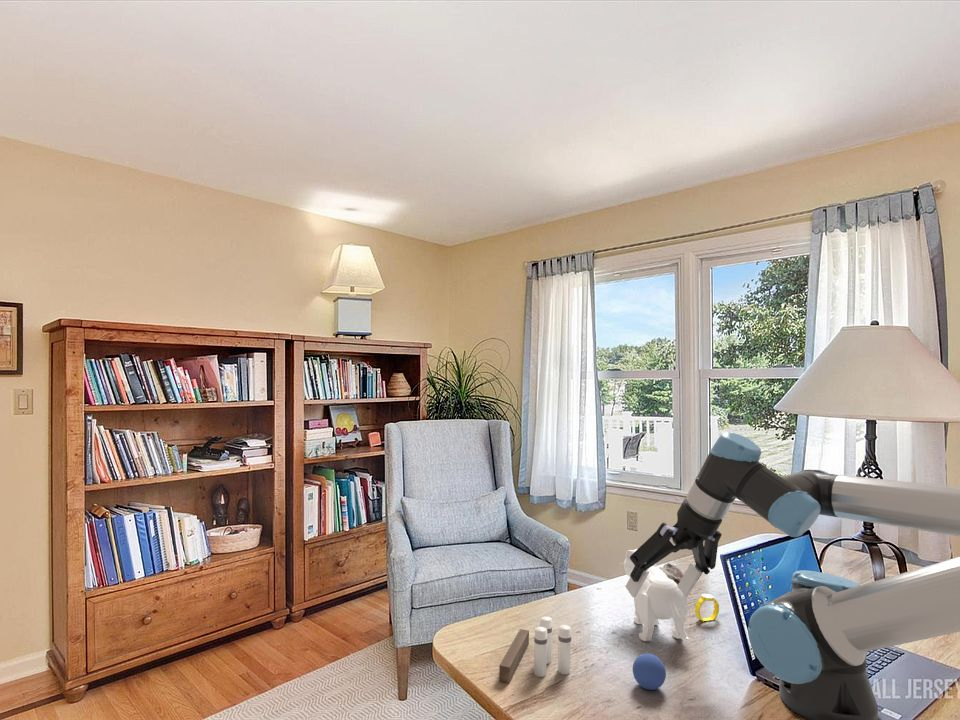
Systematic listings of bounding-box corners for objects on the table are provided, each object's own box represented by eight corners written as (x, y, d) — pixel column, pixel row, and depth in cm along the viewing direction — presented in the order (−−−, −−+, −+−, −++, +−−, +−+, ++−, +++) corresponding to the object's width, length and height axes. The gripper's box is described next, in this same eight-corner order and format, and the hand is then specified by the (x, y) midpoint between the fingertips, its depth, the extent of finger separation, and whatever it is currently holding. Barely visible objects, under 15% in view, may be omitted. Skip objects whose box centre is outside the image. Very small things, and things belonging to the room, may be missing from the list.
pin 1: (553, 661, 115) (554, 619, 115) (544, 665, 114) (545, 622, 114) (545, 656, 117) (546, 615, 117) (536, 660, 116) (537, 618, 116)
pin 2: (549, 674, 110) (550, 630, 110) (539, 678, 109) (540, 633, 109) (540, 668, 112) (541, 625, 112) (530, 672, 111) (531, 628, 111)
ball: (672, 689, 106) (672, 657, 106) (652, 700, 102) (653, 667, 103) (645, 675, 111) (646, 644, 111) (625, 685, 107) (626, 653, 107)
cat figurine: (710, 657, 118) (712, 577, 119) (666, 663, 116) (668, 581, 116) (646, 607, 143) (647, 541, 143) (608, 611, 140) (609, 543, 140)
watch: (712, 617, 138) (714, 593, 139) (720, 622, 136) (722, 597, 136) (692, 618, 137) (694, 593, 137) (699, 623, 134) (701, 598, 134)
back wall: (528, 644, 122) (529, 630, 122) (509, 683, 107) (509, 667, 107) (519, 642, 123) (520, 628, 123) (499, 681, 107) (499, 665, 108)
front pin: (573, 672, 111) (574, 628, 112) (564, 676, 110) (565, 632, 110) (564, 666, 113) (565, 623, 114) (555, 670, 112) (556, 627, 112)
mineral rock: (673, 598, 149) (673, 581, 149) (644, 590, 154) (644, 573, 154) (693, 583, 160) (694, 568, 160) (666, 576, 166) (667, 561, 166)
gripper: (737, 499, 116) (691, 577, 123) (641, 491, 105) (597, 577, 113) (764, 524, 109) (714, 605, 117) (664, 518, 99) (617, 607, 106)
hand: (656, 591), depth 115 cm, fingers open, 13 cm apart
